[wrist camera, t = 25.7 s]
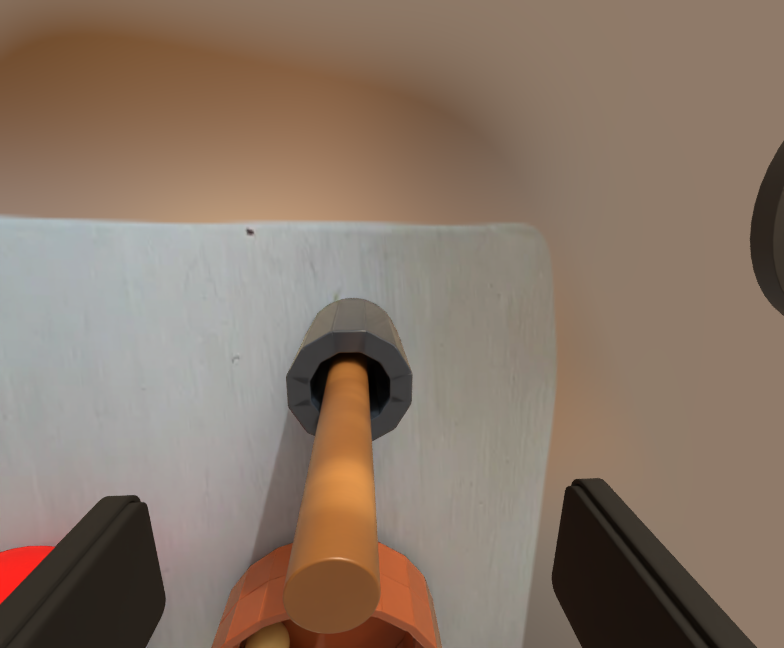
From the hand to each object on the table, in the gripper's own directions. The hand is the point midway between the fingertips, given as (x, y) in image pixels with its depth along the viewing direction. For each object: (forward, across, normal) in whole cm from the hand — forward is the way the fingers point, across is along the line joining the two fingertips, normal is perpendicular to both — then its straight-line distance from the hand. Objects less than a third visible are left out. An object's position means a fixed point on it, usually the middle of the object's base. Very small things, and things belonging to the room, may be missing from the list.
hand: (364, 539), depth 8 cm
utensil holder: (+15, +1, 0) cm, 15 cm away
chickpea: (+13, +7, +22) cm, 26 cm away
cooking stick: (+14, +1, 0) cm, 15 cm away
